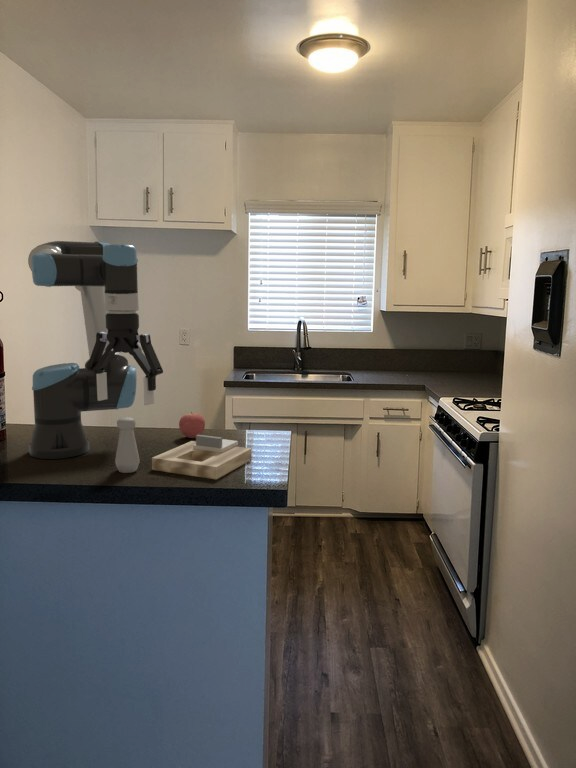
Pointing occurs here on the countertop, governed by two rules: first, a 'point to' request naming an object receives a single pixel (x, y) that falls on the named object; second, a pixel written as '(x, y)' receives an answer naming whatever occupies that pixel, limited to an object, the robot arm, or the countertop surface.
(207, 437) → the shutter
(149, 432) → the countertop surface
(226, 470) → the socket board
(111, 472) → the countertop surface
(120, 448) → the salt shaker
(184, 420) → the apple
